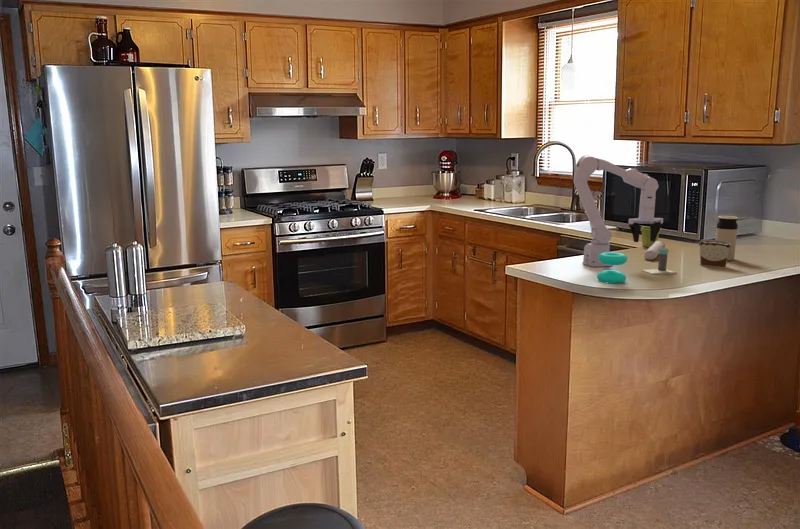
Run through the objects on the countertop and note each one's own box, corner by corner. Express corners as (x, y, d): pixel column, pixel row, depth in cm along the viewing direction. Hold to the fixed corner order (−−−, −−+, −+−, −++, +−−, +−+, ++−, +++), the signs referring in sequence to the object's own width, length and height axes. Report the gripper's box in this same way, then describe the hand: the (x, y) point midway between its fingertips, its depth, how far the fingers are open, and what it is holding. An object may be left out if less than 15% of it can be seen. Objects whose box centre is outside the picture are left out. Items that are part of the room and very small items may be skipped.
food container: (731, 265, 290) (733, 241, 288) (729, 268, 284) (732, 243, 282) (698, 262, 296) (701, 238, 294) (696, 264, 290) (698, 240, 288)
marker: (660, 271, 275) (662, 250, 273) (655, 269, 278) (657, 249, 276) (668, 270, 276) (669, 250, 274) (662, 269, 279) (664, 248, 277)
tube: (658, 252, 296) (667, 243, 318) (645, 247, 298) (655, 238, 320) (653, 264, 298) (662, 254, 320) (640, 258, 300) (650, 249, 322)
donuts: (600, 250, 263) (628, 252, 259) (598, 277, 265) (626, 279, 261) (597, 255, 253) (626, 257, 250) (595, 282, 255) (624, 285, 252)
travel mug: (735, 261, 299) (739, 218, 296) (714, 259, 302) (718, 217, 298) (732, 257, 307) (737, 216, 303) (712, 256, 309) (716, 215, 306)
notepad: (654, 275, 269) (654, 273, 269) (641, 270, 277) (642, 269, 277) (677, 273, 272) (677, 272, 272) (664, 269, 280) (664, 268, 280)
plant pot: (657, 245, 337) (659, 227, 335) (662, 248, 328) (663, 229, 326) (637, 244, 338) (638, 226, 337) (640, 247, 329) (642, 229, 327)
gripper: (636, 209, 276) (634, 243, 279) (669, 208, 280) (666, 242, 283) (626, 207, 283) (623, 240, 285) (658, 206, 287) (655, 239, 289)
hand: (644, 241), depth 285 cm, fingers open, 7 cm apart
